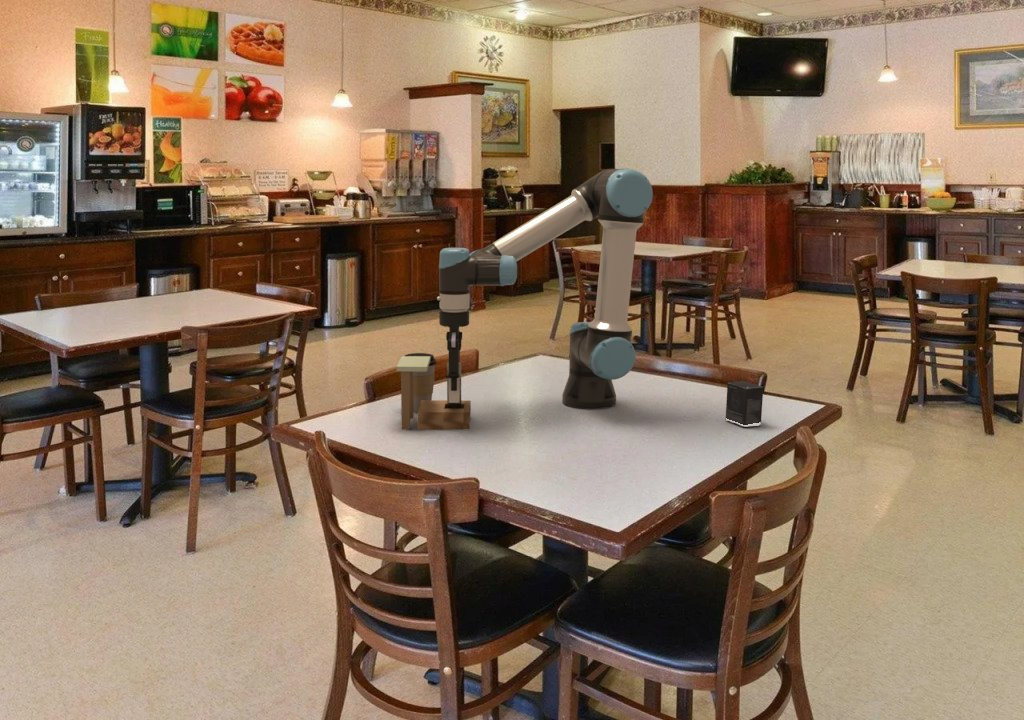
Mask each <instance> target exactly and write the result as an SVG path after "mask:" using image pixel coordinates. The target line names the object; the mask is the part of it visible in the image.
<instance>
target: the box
mask: <svg viewBox="0 0 1024 720" xmlns="http://www.w3.org/2000/svg"><path fill="white" fill-rule="evenodd" d="M726 386H727V387H726V390H727V391H726V404H725V405H726V406H725V419H726V418H727V419H729V420H732V421H735V422H738V423H740V424H743V425H748V424H753V423H759V422H761V423H762V414H763V413H762V412H763V411H762V410H763V401H764V400H763V397H764V386H761V385H758V384H756V383H751V382H749V381H745V380H739V381H730V382H727V385H726Z"/></svg>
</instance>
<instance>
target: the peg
mask: <svg viewBox="0 0 1024 720" xmlns="http://www.w3.org/2000/svg"><path fill="white" fill-rule="evenodd" d="M461 369H462V362H461V361H460V362H459V391H460V402H459V403H449V378H446V386H447V387H446V396H447V398H446V399H447V409H461V401H462V373H461ZM446 372H447V373H446V376H448V374H449V361H447V362H446Z"/></svg>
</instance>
